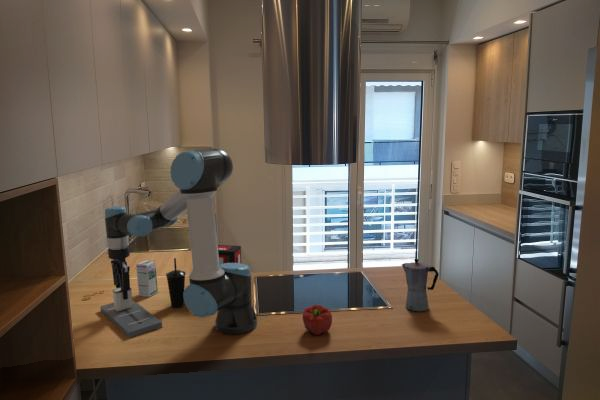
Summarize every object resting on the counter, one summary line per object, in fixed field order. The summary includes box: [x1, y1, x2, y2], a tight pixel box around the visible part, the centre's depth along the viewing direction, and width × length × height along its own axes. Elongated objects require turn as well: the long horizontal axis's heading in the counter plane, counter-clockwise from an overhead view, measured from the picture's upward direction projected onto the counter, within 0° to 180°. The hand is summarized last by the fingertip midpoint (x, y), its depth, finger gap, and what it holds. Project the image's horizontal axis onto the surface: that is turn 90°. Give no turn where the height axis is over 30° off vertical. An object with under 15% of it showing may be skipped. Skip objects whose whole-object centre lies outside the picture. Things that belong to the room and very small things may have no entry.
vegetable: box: [302, 304, 333, 336], centre depth 153 cm, size 11×10×10 cm
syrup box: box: [135, 259, 159, 298], centre depth 189 cm, size 6×6×14 cm
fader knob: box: [112, 286, 133, 311], centre depth 170 cm, size 3×6×8 cm, turn 131°
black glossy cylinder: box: [165, 257, 186, 309], centre depth 176 cm, size 8×8×20 cm
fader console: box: [100, 299, 163, 339], centre depth 166 cm, size 30×12×2 cm, turn 41°
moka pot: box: [401, 258, 439, 312], centre depth 172 cm, size 10×15×20 cm, turn 55°
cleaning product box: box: [218, 244, 242, 265], centre depth 191 cm, size 16×9×20 cm, turn 80°
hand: (123, 305), depth 171 cm, fingers closed on fader knob, 3 cm apart
